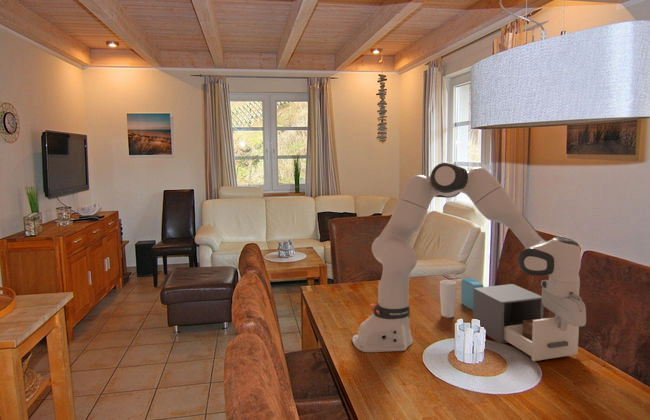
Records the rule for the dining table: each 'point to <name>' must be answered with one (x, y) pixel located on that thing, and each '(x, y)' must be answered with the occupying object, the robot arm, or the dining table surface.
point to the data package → (469, 291)
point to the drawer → (544, 339)
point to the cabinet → (505, 308)
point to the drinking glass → (447, 297)
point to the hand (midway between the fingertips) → (561, 329)
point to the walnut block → (527, 329)
